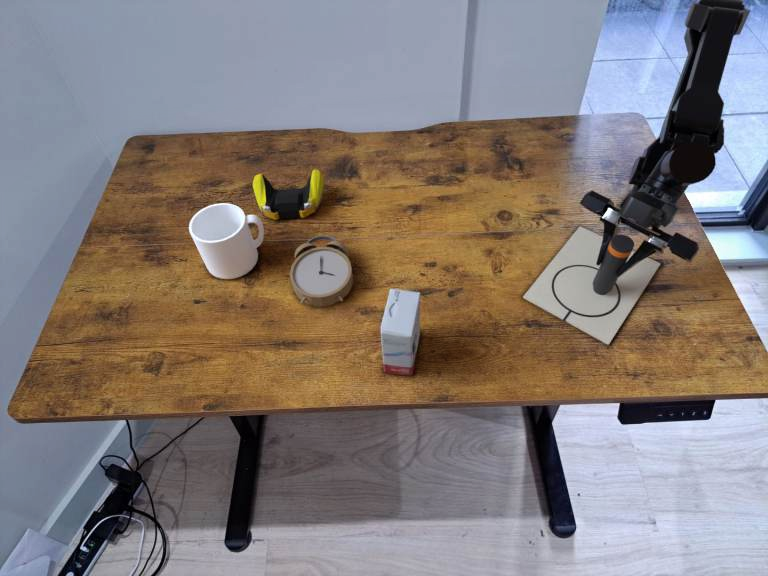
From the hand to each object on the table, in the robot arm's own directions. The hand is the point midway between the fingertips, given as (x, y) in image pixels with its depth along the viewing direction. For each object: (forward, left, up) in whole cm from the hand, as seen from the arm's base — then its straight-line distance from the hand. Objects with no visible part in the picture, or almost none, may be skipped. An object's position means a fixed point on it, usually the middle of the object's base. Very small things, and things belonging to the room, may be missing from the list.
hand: (607, 270), depth 85 cm
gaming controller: (+16, -61, -7) cm, 63 cm away
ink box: (+30, -20, -7) cm, 37 cm away
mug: (+33, -58, -7) cm, 67 cm away
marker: (-2, 0, -7) cm, 7 cm away
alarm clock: (+26, -42, -7) cm, 50 cm away
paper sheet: (-3, -2, -7) cm, 8 cm away
